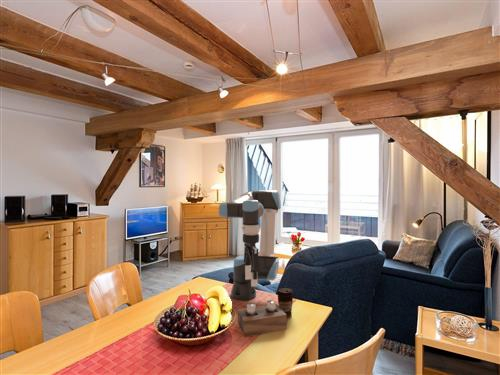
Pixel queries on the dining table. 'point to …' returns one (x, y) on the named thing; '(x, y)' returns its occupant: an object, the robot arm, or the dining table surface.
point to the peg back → (271, 306)
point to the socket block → (261, 321)
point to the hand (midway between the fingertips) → (251, 282)
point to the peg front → (251, 309)
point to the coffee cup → (285, 300)
